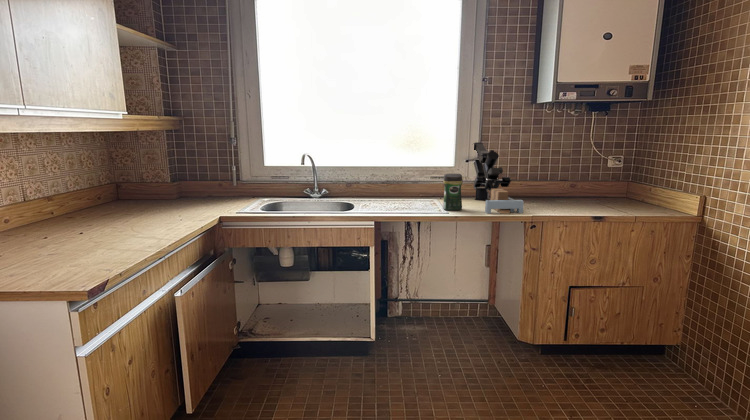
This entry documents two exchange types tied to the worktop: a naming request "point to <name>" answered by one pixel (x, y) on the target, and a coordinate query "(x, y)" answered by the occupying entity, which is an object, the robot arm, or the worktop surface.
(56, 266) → the worktop surface
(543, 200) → the worktop surface
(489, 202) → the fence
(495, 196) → the tan stepped block
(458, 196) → the coffee jar
